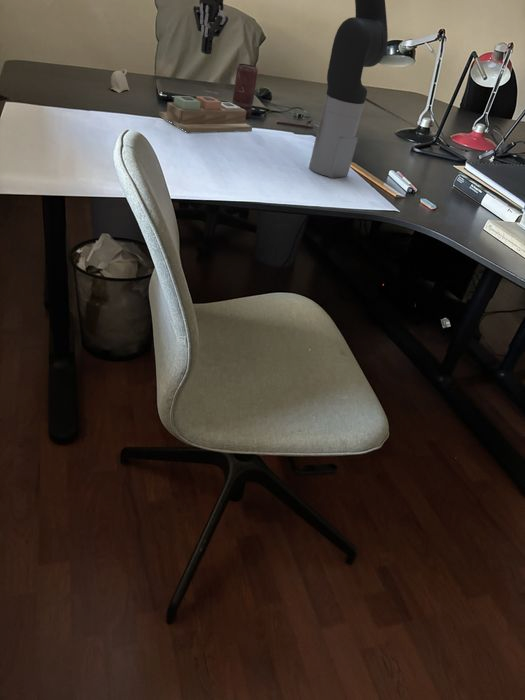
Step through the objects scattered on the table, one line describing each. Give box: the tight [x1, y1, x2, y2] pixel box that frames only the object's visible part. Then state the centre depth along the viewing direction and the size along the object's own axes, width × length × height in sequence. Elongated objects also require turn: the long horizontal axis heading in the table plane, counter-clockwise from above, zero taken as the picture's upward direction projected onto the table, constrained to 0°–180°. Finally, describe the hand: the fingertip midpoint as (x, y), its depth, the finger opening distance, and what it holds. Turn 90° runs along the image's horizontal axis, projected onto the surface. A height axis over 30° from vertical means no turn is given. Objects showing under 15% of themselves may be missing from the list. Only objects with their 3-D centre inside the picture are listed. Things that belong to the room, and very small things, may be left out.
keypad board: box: [158, 101, 253, 133], centre depth 145 cm, size 14×22×4 cm, turn 130°
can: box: [231, 63, 259, 120], centre depth 156 cm, size 6×6×14 cm
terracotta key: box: [195, 95, 223, 110], centre depth 143 cm, size 5×5×3 cm
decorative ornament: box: [110, 68, 130, 94], centre depth 157 cm, size 4×8×5 cm, turn 163°
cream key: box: [221, 101, 241, 110], centre depth 148 cm, size 5×5×3 cm
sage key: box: [173, 95, 200, 110], centre depth 139 cm, size 5×5×3 cm
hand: (205, 53), depth 135 cm, fingers closed
